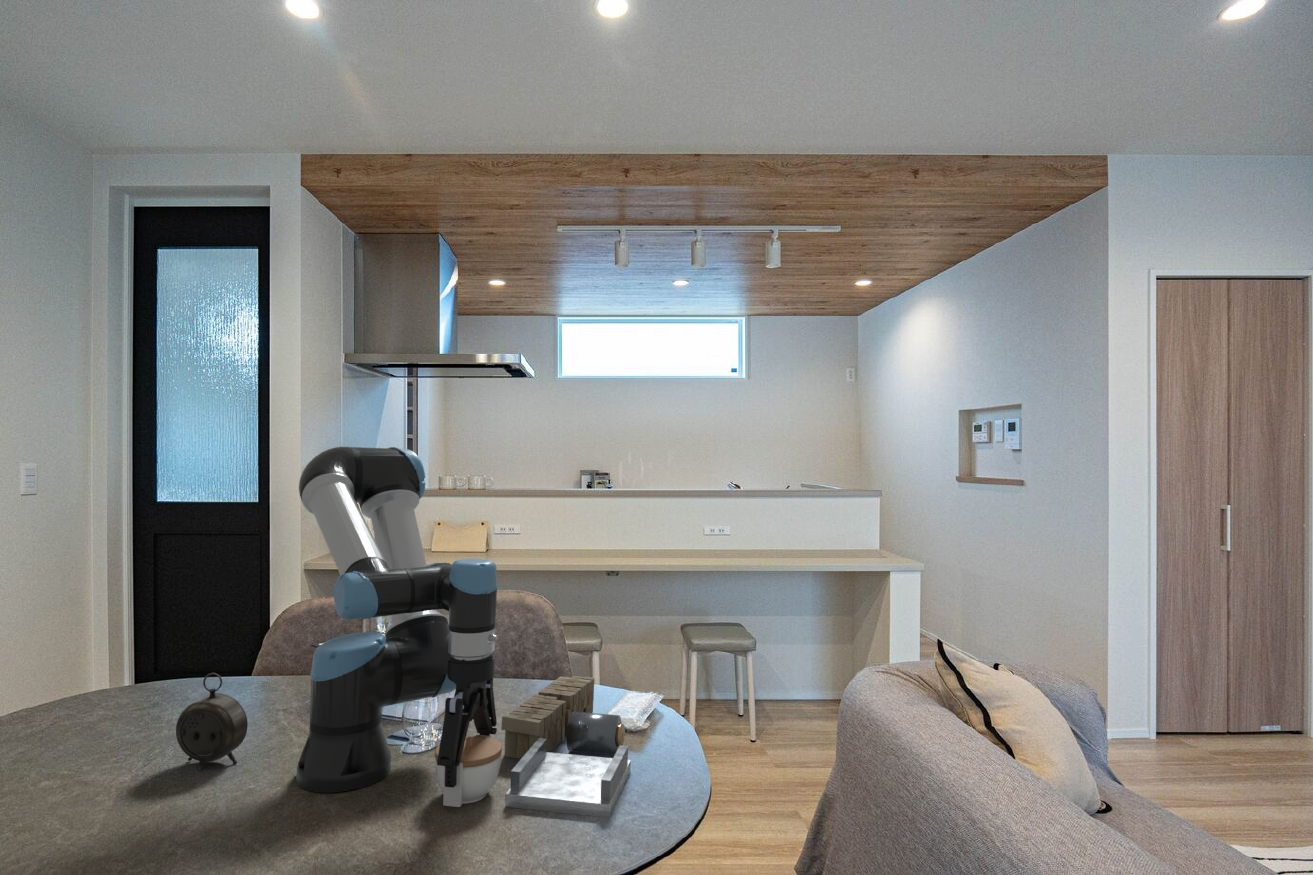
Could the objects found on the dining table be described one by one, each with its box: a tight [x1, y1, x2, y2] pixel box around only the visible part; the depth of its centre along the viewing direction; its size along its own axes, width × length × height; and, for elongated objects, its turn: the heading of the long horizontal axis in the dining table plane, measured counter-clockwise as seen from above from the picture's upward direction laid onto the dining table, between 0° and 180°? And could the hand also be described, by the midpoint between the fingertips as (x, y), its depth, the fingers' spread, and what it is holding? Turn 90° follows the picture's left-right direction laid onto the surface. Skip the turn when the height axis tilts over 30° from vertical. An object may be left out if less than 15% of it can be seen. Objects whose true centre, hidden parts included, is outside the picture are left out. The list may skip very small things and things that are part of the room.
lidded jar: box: [434, 735, 503, 805], centre depth 119 cm, size 11×11×9 cm
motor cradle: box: [504, 712, 632, 819], centre depth 127 cm, size 17×28×7 cm, turn 171°
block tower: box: [500, 675, 595, 760], centre depth 146 cm, size 8×8×29 cm
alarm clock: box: [175, 672, 249, 771], centre depth 128 cm, size 11×5×16 cm, turn 85°
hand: (467, 788), depth 119 cm, fingers closed on lidded jar, 11 cm apart
